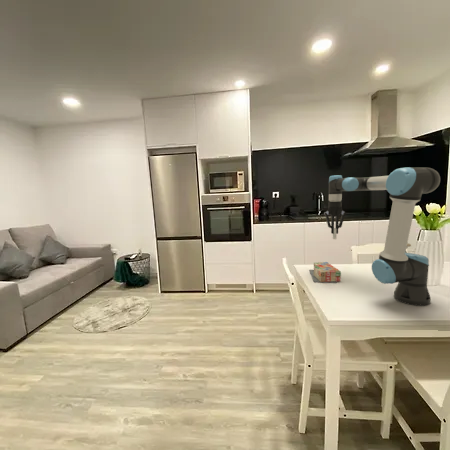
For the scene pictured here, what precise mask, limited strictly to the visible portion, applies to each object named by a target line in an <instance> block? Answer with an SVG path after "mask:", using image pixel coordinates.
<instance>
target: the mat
mask: <svg viewBox="0 0 450 450" xmlns="http://www.w3.org/2000/svg"><path fill="white" fill-rule="evenodd" d="M308 271H309V274H310V276H311V278H312V281H313V282H314V283H323V284H324V283H329V284H337V282H338V281H331V282H320V281H319V280H318V279H317V278H316V277H315V276H314V269H309V270H308Z"/></svg>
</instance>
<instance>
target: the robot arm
mask: <svg viewBox="0 0 450 450" xmlns="http://www.w3.org/2000/svg"><path fill="white" fill-rule="evenodd" d="M440 183H441V176H440V173H439V172H438V171H437V170H435V169H434V168H431V167H410V166H409V167H400V168H396V169H394V170H393V171H392V172H390V174H389V175H382V176H381V175H380V176H379V175H378V176H369V177H352V176H351V177H349V176H348V177H344V178H343V175H341V174H340V175H330V176H329V178H328V208H327V210H326V211H324V212H323V215H324V216H325V219H326V224H327V227H328V228H329V229H331V230H330V232H331V234H332V239H333V240H337V235H338V234H339V229H340V228H342V227H343V223H344V220H345V216H346V215H347V212H346V211H344V210H343V207H342V202H343V201H342V200H343V199H342V198H343V192H359V191H360V192H361V191H385V190H386V191H387V192H388V193H389V199H390V200H391V201H392V205H391V210H390V215H389V220H388V225H387V226H388V227H387V232H386V238H385V241H384V248H383V250H382V251H380V252H379V256H378V259H375V260H374V261H372V263H371V271H372V274H373V276H374V278H375V279H376V280H377V281H378V282H380V283H382V284H385V285H386V284H395V283H398V284H397V285H396V287H395V289H394V292H393V298H394V299H395V300H397V302H400V303H404V304H408V305H411V306H419V307H420V306H428V305H430V304H431V302H432V301H431V298H432V297H431V296H430V292H429V289H428V276H429V267H430V264H429V262H430V261H429V258H428V257H427V256H426V255H422V254H417V253H411V252H407V249H406V247H407V243H408V242H409V238H410V237H409V236H410V232H411V227H412V223H413V217H414V214H415V213H414V212H415V207H416V204H417V203H418V202H420V201H421V199H422V195H424V194H426V195H427V194H429V193H432V192H434V191H435V190H436V189H437V188H438V187H439V186H440ZM329 215H330V216H329ZM340 215H341V216H340ZM329 217H331V218H329ZM408 244H409V243H408ZM405 252H407V253H405Z"/></svg>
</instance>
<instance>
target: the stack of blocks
mask: <svg viewBox="0 0 450 450" xmlns="http://www.w3.org/2000/svg"><path fill="white" fill-rule="evenodd" d="M313 270H314V276H315V277H316V278H317V279H318V280H319V281H320V282H319V283H322V282H331V281H336V282H341V279H342V278H341V276H342V275H341V273H342V272H341V270H339V269H338V268H337V267H335V266H333V265H332V264H330V263H329V262H327V261H325V262H324V261H322V262H321V261H318V262H313Z"/></svg>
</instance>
